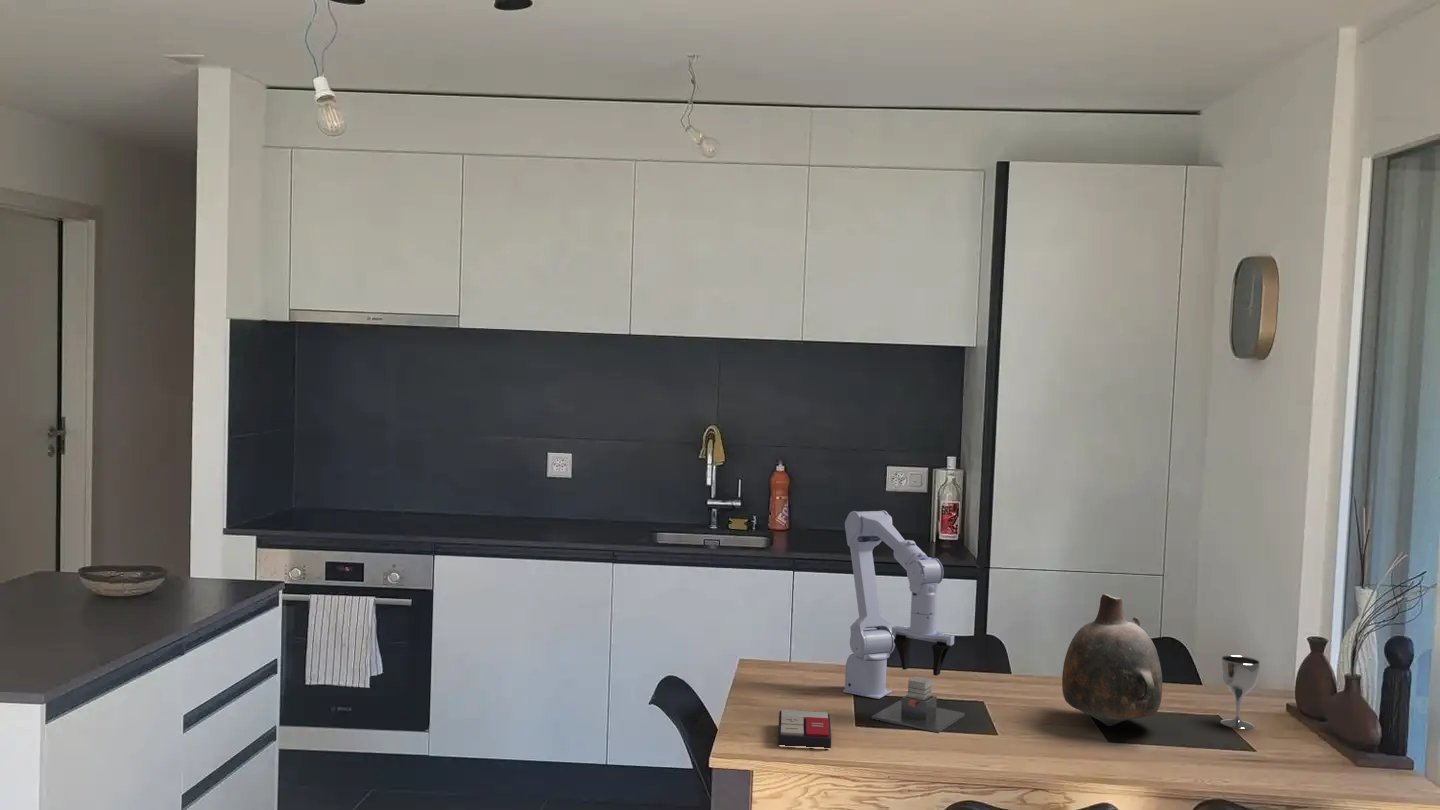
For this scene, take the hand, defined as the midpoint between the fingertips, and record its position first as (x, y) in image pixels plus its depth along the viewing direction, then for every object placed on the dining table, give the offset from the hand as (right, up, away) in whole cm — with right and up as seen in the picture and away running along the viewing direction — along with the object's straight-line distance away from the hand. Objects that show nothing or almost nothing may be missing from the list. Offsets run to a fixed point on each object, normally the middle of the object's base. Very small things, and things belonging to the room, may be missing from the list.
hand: (921, 671), depth 273 cm
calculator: (-28, -11, -17) cm, 34 cm away
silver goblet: (+73, -13, +4) cm, 75 cm away
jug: (+42, -12, 0) cm, 44 cm away
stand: (-1, -10, 0) cm, 10 cm away
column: (-1, -10, 0) cm, 10 cm away
